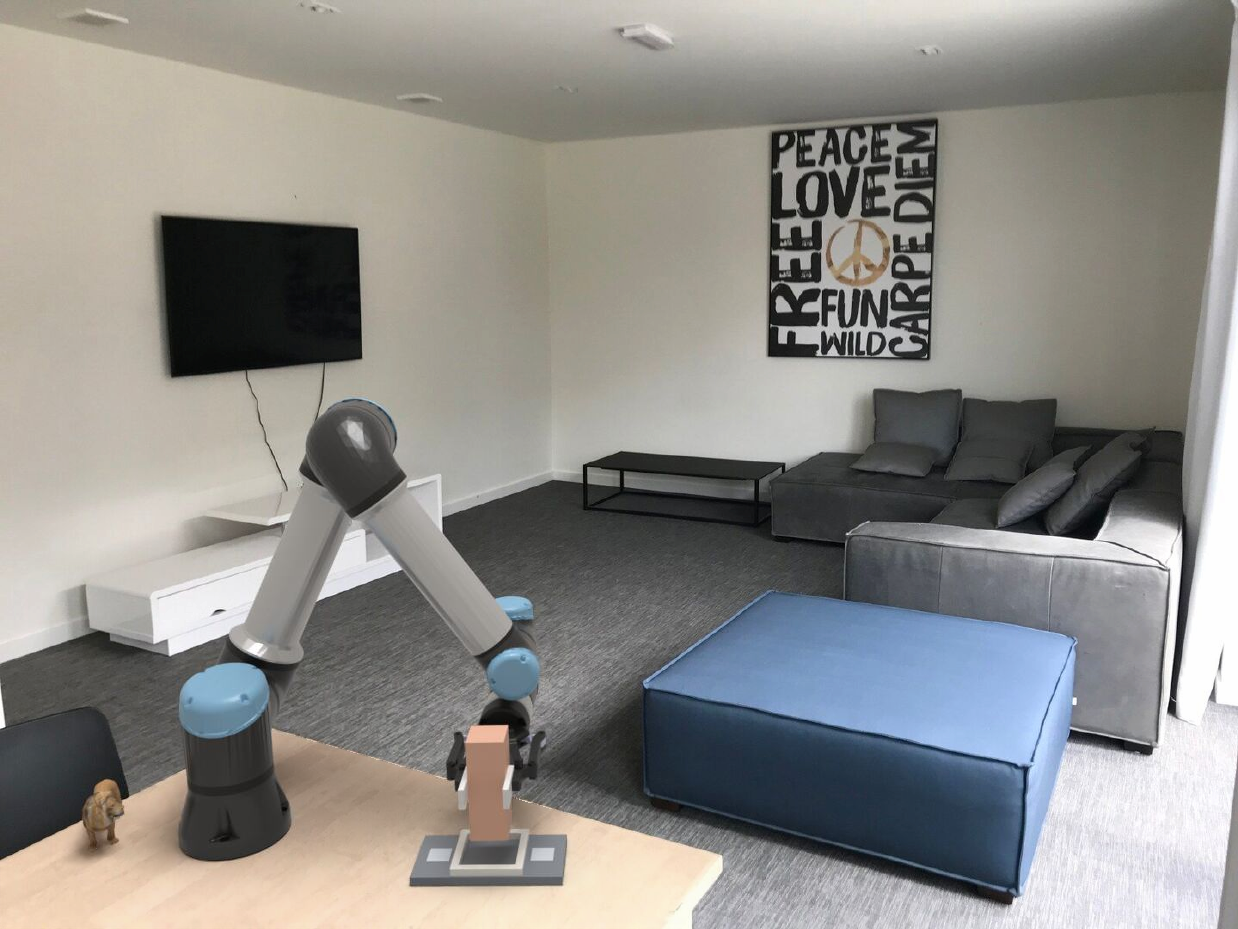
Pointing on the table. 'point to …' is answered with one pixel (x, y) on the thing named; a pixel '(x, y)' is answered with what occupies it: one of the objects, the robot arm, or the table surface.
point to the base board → (490, 860)
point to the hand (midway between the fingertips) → (483, 799)
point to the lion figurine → (102, 812)
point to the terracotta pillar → (488, 782)
